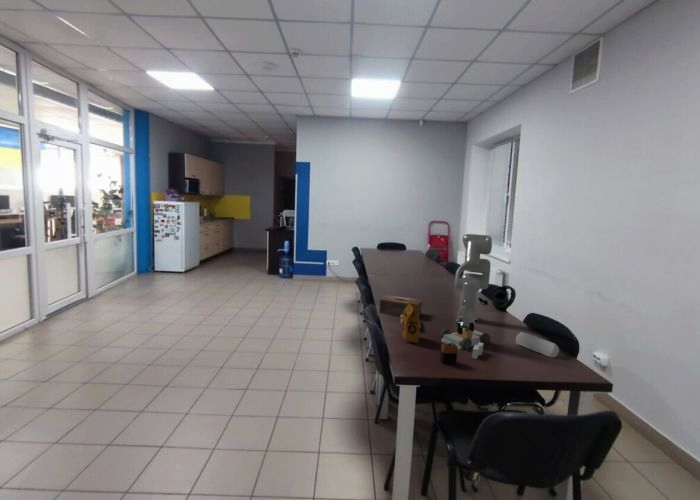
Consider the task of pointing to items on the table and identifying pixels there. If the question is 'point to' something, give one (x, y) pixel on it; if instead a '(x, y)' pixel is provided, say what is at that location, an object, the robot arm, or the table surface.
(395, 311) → the tissue box cover
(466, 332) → the box with black knob
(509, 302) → the headset
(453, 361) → the battery
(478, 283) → the robot arm
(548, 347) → the crystal
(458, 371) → the table surface
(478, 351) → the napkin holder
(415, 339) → the coffee package
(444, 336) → the chassis
